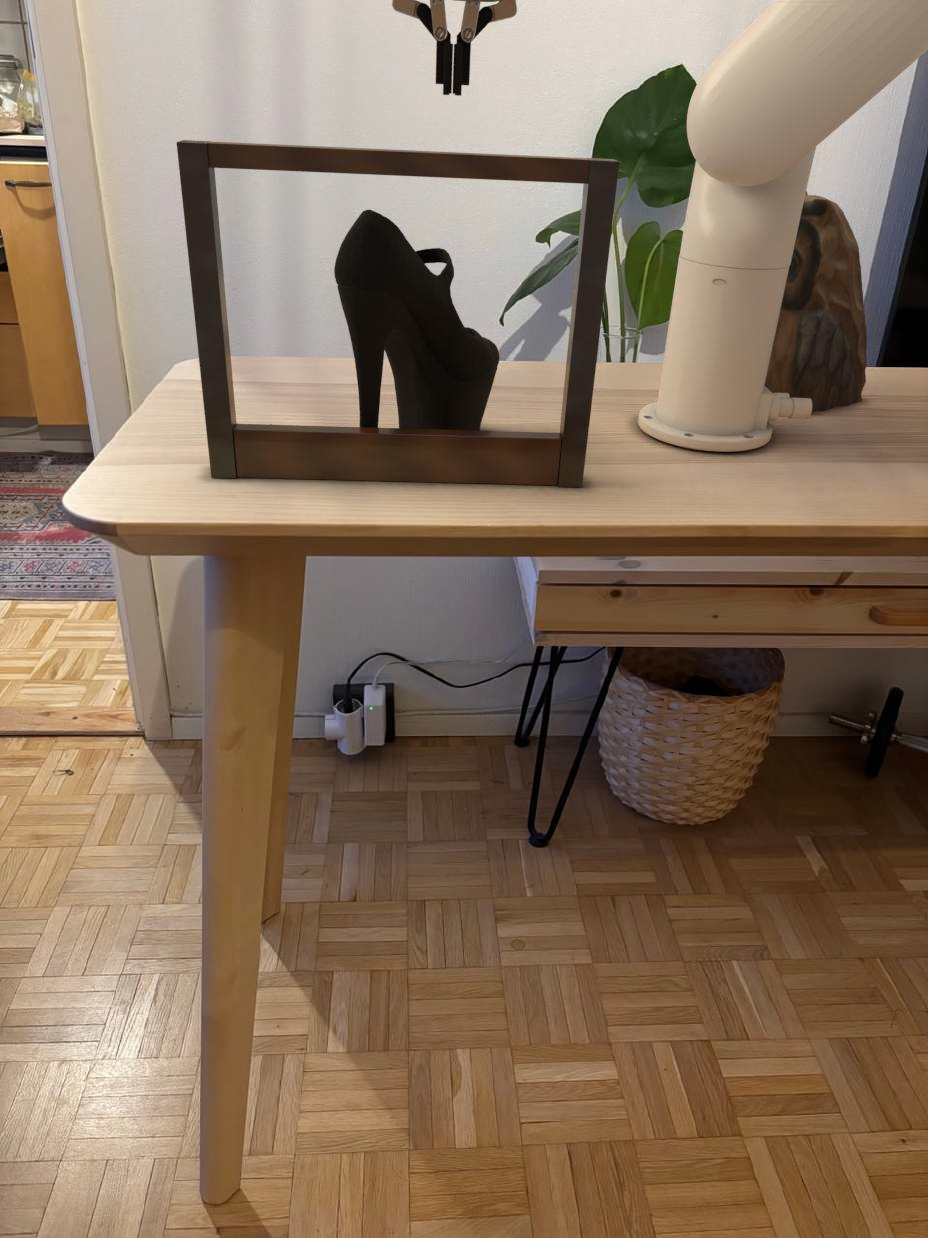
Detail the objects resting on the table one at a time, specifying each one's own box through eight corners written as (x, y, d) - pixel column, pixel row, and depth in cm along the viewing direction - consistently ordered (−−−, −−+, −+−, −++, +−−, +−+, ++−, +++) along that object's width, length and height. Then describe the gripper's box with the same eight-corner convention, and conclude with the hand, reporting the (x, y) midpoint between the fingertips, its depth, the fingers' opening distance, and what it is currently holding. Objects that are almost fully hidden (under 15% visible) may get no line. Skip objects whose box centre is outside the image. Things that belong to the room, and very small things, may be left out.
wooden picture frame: (578, 478, 77) (614, 158, 65) (582, 487, 75) (619, 161, 63) (215, 468, 76) (182, 139, 63) (211, 478, 74) (176, 141, 62)
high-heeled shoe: (512, 431, 87) (529, 199, 76) (383, 490, 73) (382, 218, 63) (444, 412, 90) (452, 189, 80) (309, 466, 77) (298, 205, 67)
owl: (793, 418, 93) (842, 204, 83) (700, 386, 102) (734, 188, 92) (867, 401, 100) (922, 199, 90) (773, 372, 109) (813, 185, 98)
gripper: (363, -189, 70) (365, 91, 79) (559, -176, 70) (539, 99, 80) (368, -167, 76) (370, 90, 85) (548, -155, 77) (530, 97, 86)
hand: (451, 94), depth 83 cm, fingers closed
